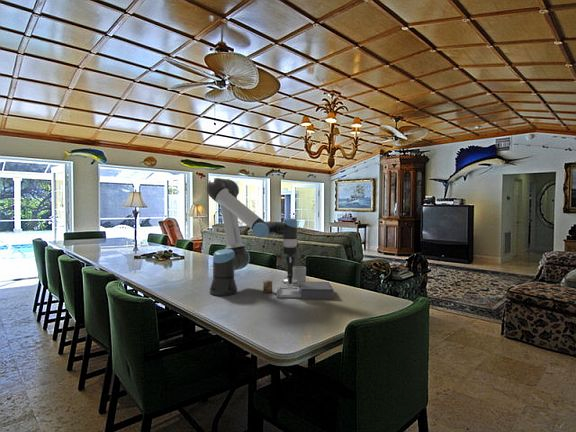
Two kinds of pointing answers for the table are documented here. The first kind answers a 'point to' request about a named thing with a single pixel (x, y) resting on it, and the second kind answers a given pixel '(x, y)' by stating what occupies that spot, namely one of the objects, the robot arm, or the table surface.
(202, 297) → the table surface
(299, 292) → the tray
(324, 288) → the housing
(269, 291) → the brown rounded cylinder
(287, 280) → the disc
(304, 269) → the mug
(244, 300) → the table surface
